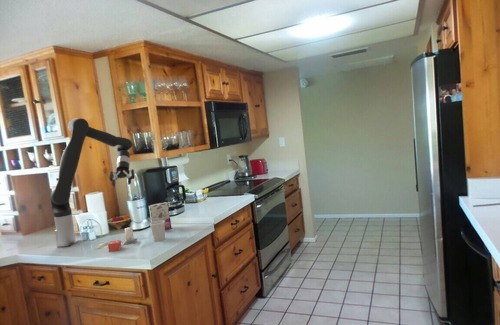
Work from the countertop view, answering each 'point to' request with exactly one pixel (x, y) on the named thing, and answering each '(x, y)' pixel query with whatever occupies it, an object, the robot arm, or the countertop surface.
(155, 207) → the candy bar box
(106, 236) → the countertop surface
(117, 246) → the red die
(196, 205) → the countertop surface
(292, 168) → the countertop surface
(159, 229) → the dixie cup
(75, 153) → the robot arm
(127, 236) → the pawn
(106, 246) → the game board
